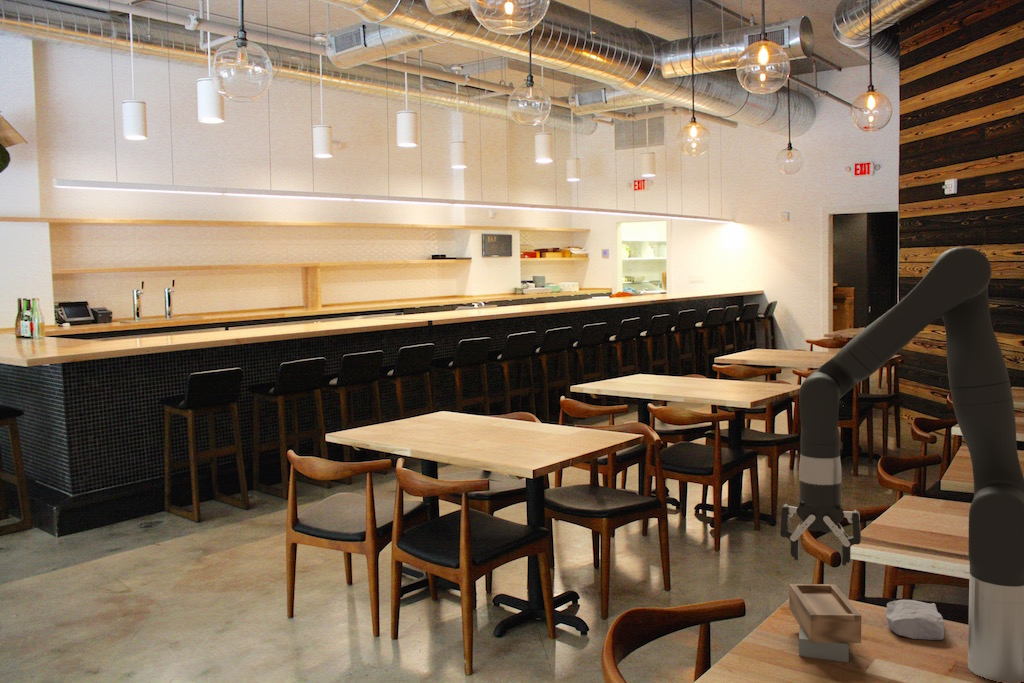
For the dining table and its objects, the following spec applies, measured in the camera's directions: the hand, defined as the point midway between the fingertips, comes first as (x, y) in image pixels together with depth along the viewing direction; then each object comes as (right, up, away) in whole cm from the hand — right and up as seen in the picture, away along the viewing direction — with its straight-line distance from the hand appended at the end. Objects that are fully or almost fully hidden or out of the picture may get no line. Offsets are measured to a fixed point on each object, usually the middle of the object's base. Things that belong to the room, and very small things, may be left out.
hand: (820, 561), depth 154 cm
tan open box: (+1, -12, +1) cm, 12 cm away
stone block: (+16, -14, +8) cm, 23 cm away
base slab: (+1, -16, +1) cm, 16 cm away
